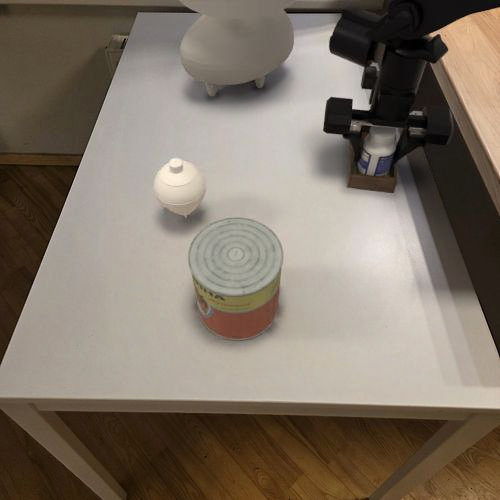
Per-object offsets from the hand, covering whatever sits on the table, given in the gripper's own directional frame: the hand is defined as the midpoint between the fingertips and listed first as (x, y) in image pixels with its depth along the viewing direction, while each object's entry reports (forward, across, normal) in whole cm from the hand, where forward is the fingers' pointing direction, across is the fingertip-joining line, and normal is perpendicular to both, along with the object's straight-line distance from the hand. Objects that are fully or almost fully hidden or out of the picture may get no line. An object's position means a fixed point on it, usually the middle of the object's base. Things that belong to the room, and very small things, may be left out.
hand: (374, 161), depth 75 cm
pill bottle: (+2, 0, 0) cm, 2 cm away
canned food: (+3, +18, +28) cm, 34 cm away
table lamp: (+3, +27, -22) cm, 35 cm away
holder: (+3, 0, -4) cm, 5 cm away
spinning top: (+3, +29, +14) cm, 33 cm away
